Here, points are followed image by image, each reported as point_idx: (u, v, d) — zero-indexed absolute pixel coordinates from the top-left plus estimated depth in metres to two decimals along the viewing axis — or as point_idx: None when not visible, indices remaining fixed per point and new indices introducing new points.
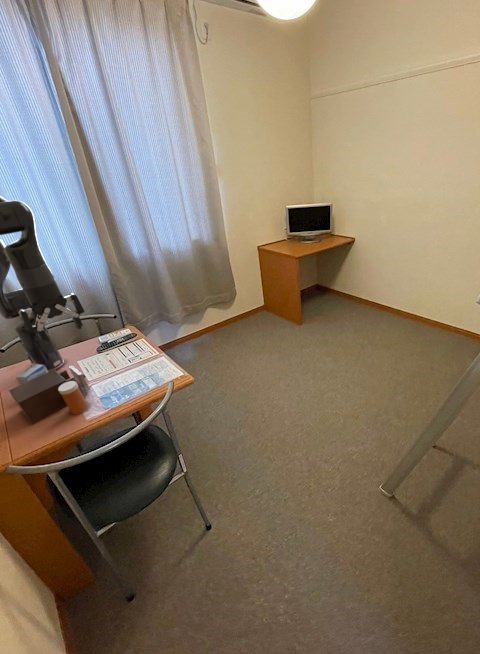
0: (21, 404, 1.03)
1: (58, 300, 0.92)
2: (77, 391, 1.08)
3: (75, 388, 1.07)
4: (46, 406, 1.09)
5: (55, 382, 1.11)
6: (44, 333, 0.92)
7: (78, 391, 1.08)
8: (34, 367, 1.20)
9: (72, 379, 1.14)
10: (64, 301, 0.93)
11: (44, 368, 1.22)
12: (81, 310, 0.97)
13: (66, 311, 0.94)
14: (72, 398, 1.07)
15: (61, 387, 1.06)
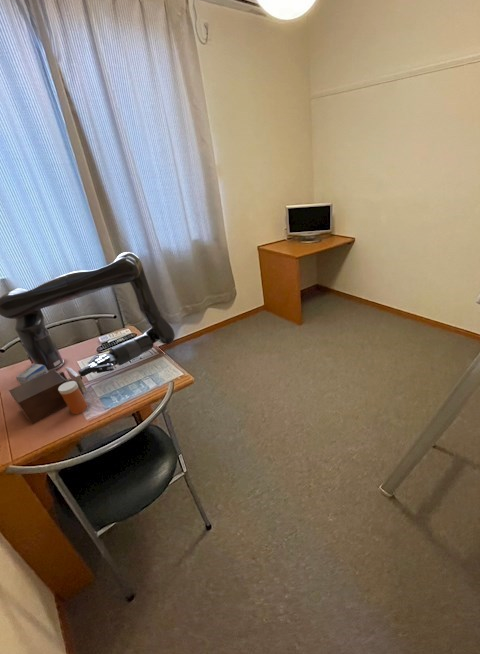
0: (21, 404, 1.03)
1: None
2: (77, 391, 1.08)
3: (75, 388, 1.07)
4: (46, 406, 1.09)
5: (55, 382, 1.11)
6: None
7: (78, 391, 1.08)
8: (34, 367, 1.20)
9: None
10: None
11: (44, 368, 1.22)
12: None
13: None
14: (72, 398, 1.07)
15: (61, 387, 1.06)
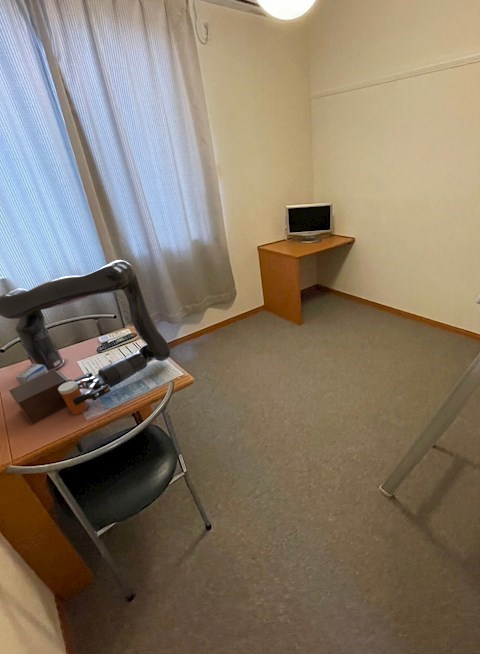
0: (21, 404, 1.03)
1: None
2: (77, 391, 1.08)
3: (75, 388, 1.07)
4: (46, 406, 1.09)
5: (55, 382, 1.11)
6: None
7: (78, 391, 1.08)
8: (34, 367, 1.20)
9: None
10: None
11: (44, 368, 1.22)
12: None
13: None
14: (72, 398, 1.07)
15: (61, 387, 1.06)
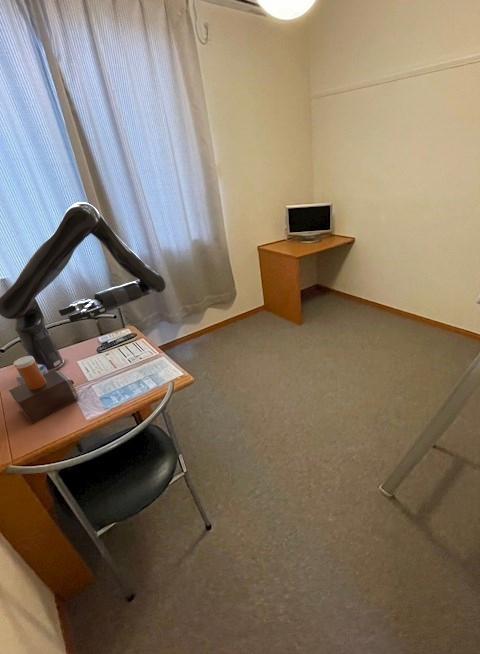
0: (21, 404, 1.03)
1: None
2: (34, 366, 1.06)
3: (31, 362, 1.05)
4: (46, 406, 1.09)
5: (55, 382, 1.11)
6: None
7: (35, 366, 1.06)
8: None
9: None
10: None
11: (44, 368, 1.22)
12: None
13: None
14: (28, 372, 1.05)
15: (17, 361, 1.04)
